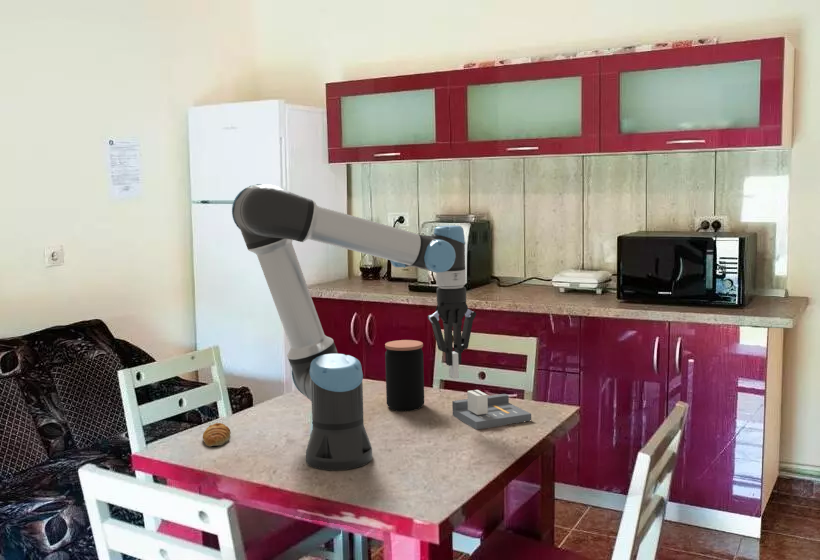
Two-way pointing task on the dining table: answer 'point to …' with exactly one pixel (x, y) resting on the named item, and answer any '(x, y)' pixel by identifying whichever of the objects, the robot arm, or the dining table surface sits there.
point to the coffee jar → (404, 375)
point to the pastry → (216, 434)
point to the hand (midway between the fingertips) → (454, 377)
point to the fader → (477, 402)
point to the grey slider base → (490, 413)
